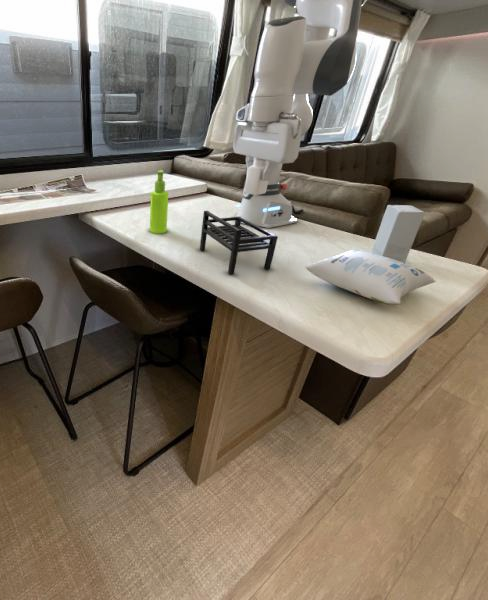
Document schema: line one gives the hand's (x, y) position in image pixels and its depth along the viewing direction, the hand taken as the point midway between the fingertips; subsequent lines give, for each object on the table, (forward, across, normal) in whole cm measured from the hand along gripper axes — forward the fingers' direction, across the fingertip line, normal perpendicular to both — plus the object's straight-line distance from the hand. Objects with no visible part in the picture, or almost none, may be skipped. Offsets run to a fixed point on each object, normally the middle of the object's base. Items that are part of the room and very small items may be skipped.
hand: (257, 178), depth 78 cm
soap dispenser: (+23, +33, +13) cm, 43 cm away
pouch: (+23, -21, -19) cm, 37 cm away
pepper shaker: (+4, 0, 0) cm, 4 cm away
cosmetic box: (+23, -10, -39) cm, 46 cm away
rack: (+23, +3, +1) cm, 23 cm away
